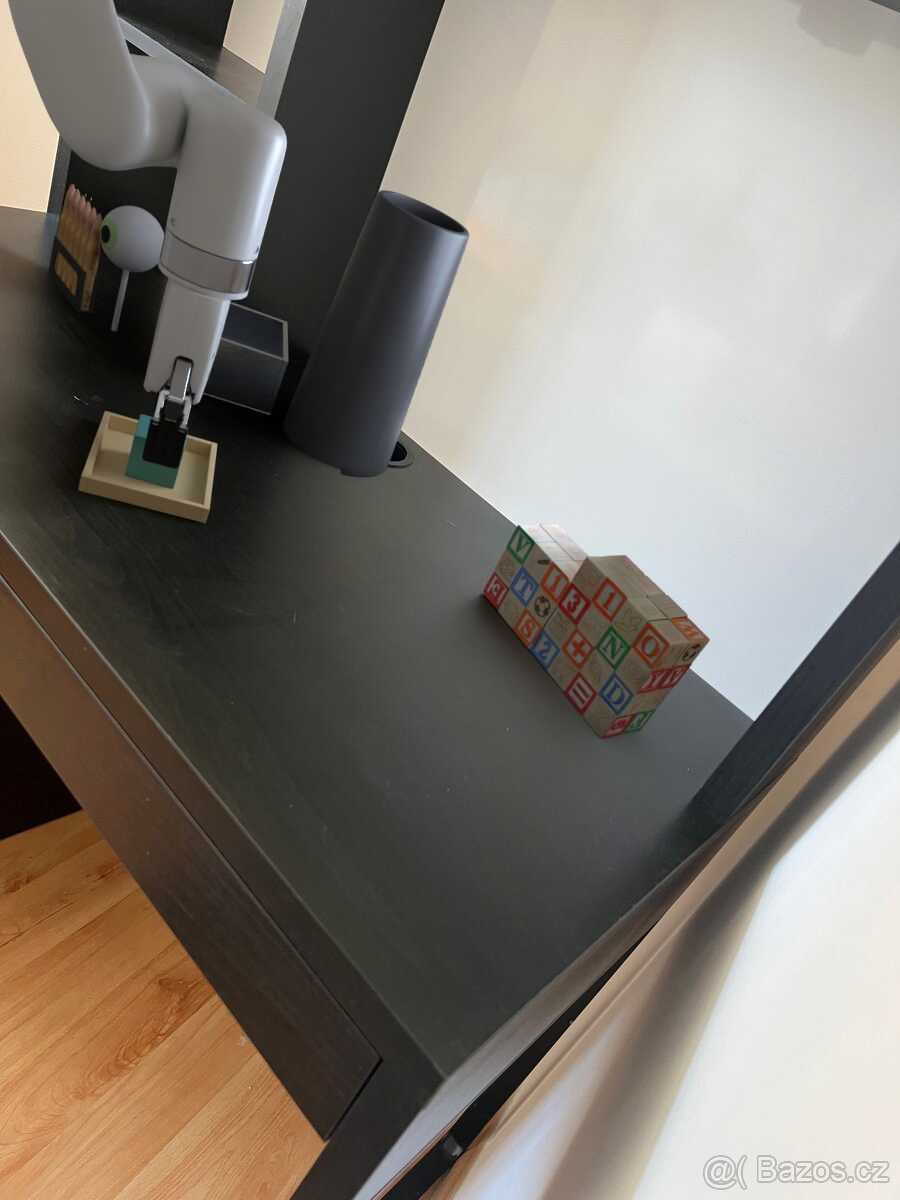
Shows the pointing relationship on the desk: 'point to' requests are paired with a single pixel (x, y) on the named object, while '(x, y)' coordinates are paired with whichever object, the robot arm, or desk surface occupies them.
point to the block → (147, 469)
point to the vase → (376, 336)
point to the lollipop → (130, 245)
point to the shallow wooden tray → (110, 481)
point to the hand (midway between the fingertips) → (165, 438)
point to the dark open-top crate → (249, 361)
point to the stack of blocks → (594, 626)
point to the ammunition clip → (77, 252)
